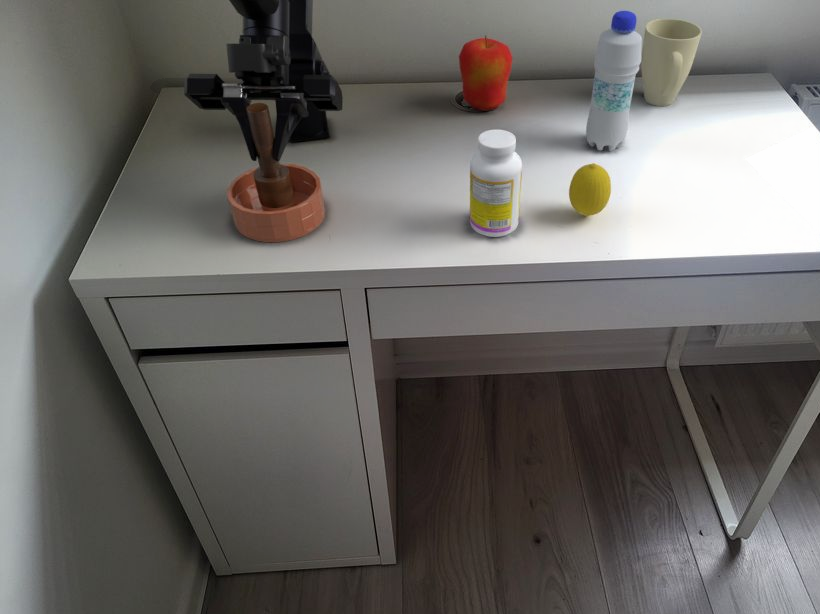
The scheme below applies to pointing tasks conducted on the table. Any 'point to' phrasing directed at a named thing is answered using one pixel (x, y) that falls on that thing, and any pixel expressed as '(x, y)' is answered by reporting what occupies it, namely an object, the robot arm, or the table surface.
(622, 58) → the bottle
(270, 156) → the pestle
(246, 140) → the robot arm
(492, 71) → the apple
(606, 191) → the lemon
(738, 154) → the table surface
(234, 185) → the bowl
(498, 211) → the supplement bottle
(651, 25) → the mug
